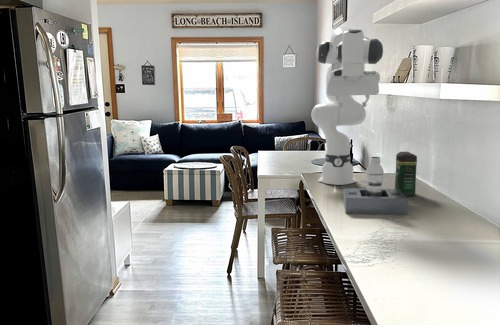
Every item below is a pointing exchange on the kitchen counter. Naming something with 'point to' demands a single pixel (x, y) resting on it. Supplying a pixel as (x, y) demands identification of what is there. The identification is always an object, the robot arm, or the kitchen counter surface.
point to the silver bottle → (374, 178)
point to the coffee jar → (406, 173)
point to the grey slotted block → (375, 202)
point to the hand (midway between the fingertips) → (352, 107)
